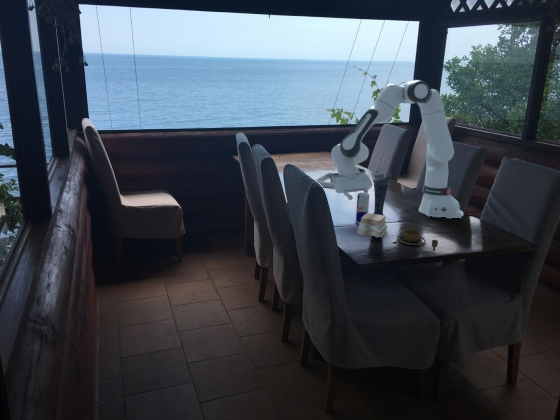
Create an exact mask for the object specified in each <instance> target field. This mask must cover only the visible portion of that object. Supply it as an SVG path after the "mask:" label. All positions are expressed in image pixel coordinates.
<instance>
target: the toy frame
mask: <svg viewBox="0 0 560 420" xmlns="http://www.w3.org/2000/svg"><path fill="white" fill-rule="evenodd" d="M335 173H336V172H329V171H328V172H326V173H325V174H323V175H321V176H320V177H318V178H316V179H315V180H316V181H317V182H318V183H320V184H321V185H322V186H323V187H322V188H329V189H335V187H334V183H333V182H330V181H329V182H327V181H325V180H327V179H328V178H329V179H330V178H331V177H333V174H335ZM323 180H324V181H323Z"/></svg>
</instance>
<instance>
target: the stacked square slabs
mask: <svg viewBox="0 0 560 420" xmlns="http://www.w3.org/2000/svg"><path fill="white" fill-rule="evenodd" d="M387 231H388V225H387V220H386V215H383V214H377V213H376V214H375V213H371V212H368V213H366V214H365V215H364V216H363V217H362V218H361V222H360V223H359V224H358V228H357V231H356V234H357V235H362V236H366V235H367V236H368V237H372V236H375V237H374V238H378V237H381V238H383V236H384V235H385V234H386V232H387ZM384 233H385V234H384Z"/></svg>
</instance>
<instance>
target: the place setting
mask: <svg viewBox="0 0 560 420" xmlns="http://www.w3.org/2000/svg"><path fill="white" fill-rule="evenodd" d="M401 236H403V237H404V238H403V239H404V241H403V240H400V239H398V238H399V237H401ZM419 238H422V239H423V240H424V242H425V243H426V239H425V237H422V236H421V232H420V231H419V230H415V229H405V230H403V234H399V235H397V238H396V239H397V241H398V243H400V242H402V243H405V244H411V245H418V244H423V243H424V242H422V241H421V242H420V243H419V242H417V241H419ZM406 240H407V241H409V242H407V241H406ZM415 241H416V242H415ZM410 242H414V243H410ZM402 243H401V244H402ZM425 243H424V244H425ZM424 244H423V245H424ZM438 244H439V240H438V239H432V240H431V246H432V252H433V251H435V252H436V248H437V247H438Z"/></svg>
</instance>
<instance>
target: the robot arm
mask: <svg viewBox="0 0 560 420" xmlns="http://www.w3.org/2000/svg"><path fill="white" fill-rule="evenodd" d="M401 103H402V104H411V105H412V104H417V105H418V107H419V109H420V110H419V111H420V115H421V121H422V124H423V125H422V126H423V129H424V133H425V137H426V141H427V144H426V154H425V155H426V157H425V159H426V160H425V165H426V167H425V168H426V170H425V176H424V177H425V178H424V184H423V188H422V198H421V203H420V205H419V208H418V212H419V213H421V214H423V215H426V216H427V217H431V216H432V218H441V217H446V218H445V219H452V218H460V219H462V218H463V217H464V211H462V210H461V209H460V208H461V207H460V203H459V201H458V200H457V199H456V198H455V197H454V196H452V194H451V192H452V191H451V187H448V180H449V179H448V178H449V173H450V172H449V161H451V160H452V159H453V157H454V154H455V149H454V144H453V141H452V136H451V133H450V131H449V130H450V129H449V126H448V124H447V118H446V112H445V108H444V104H443V101H442V98H441V95H440V93H439V91H438V90H437V89H435V88H431V87H430V86H429V85H428V83H427V82H426V81H424V80H420V79H411V80H408V81H404V82H401V83H399V84H395V83H388V84H387V85H386V86H385V87H383V89H382V90H381V91H380V92H379V94H378V96H377V97H376V99H375V101H374V102H373V103H372V105H371V106H370V108H369V109H367V110H366V112H364V114H363V115H362V116H361V118H360V119H359V120H358V122H357V123H356V124H355V126H354V127H353V128H352V130H350V132H349V134H347V135H346V136H345V137H344V138H343V139H342V140H341V142H340V143H338V144H336V145H335V146H334V147H332V149H331V152H330V153H331V159H332V162H333V165H334V166H335V168H336V169H337V173H338V174H339V175H337V176H333V177H334V178H333V177H332V181H333V182H332V181H331V182H332V183H334V187H335V188H334V190H335V193H337V194H338V195H339V194H343V195H344V197H346V198H347V199H348V201H351V200H353V199H354V197H353V196H352V194H350V193H353V192H354V193H355V192H361V191H363V192H362V193H368V194H369V190H370V189H372V187H373V181H372V180H371V178H370V176H369V175H368V174H367V171H366V169H365V168H360V167H357V166H355V165H358V164H361V163H363V162H365V161H366V160H367V159H368V157H369V155H370V150H369V147H368V146H367V145H365V144H364V143H363V142H362V141H363V139H364V137H365V135H366V134H367V133H368V131H369V130H370V128H371V127H372V126H374V125H376V124H384V123H387V122H389V121H390V119H392V117H393V116H394V115H395V113H396V110H397V109H398V107H399V106H400V104H401ZM462 216H463V217H462ZM461 217H462V218H461Z"/></svg>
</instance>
